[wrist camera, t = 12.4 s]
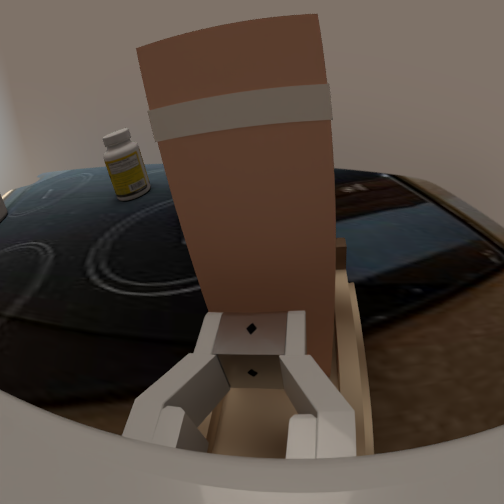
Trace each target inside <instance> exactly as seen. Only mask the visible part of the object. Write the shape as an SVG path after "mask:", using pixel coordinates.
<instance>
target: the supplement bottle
mask: <svg viewBox="0 0 504 504" xmlns="http://www.w3.org/2000/svg"><path fill="white" fill-rule="evenodd" d="M130 138H131V136H130V132H129V129H128V128H125V129H121V130H118V131H115V132H112V133H110V134H108V135H106V136H104V137H103V142H104V145H105V147H107V151H106V152H105V154H104V161H105V164H106V167H107V170H108V173H109V176H110V179H111V182H112V184H113V187H114V190H115V193H116V196H117V198H118V199H119V200H121V201H127V200H132V199H135V198H137V197H140V196H142V195H143V194H145V193H146V192H147V191H148V190H149V189H150V182H149V179H148V176H147V172H146V169H145V166H144V163H143V159H142V156H141V152H140V149H139V146H138V144H137V143H136V142H134V141H130Z"/></svg>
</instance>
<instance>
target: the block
mask: <svg viewBox="0 0 504 504" xmlns="http://www.w3.org/2000/svg"><path fill="white" fill-rule="evenodd" d="M136 50H137V55H138V60H139V65H140V70H141V74H142V79H143V83H144V88H145V92H146V97H147V101H148V105H149V109H150V110H149V111H148V115H149V119H150V123H151V127H152V131H153V135H154V139H155V142H158V145H159V150H160V153H161V157H162V161H163V165H164V168H165V172H166V176H167V179H168V183H169V186H170V190H171V193H172V197H173V200H174V204H175V207H176V211H177V214H178V218H179V221H180V224H181V228H182V231H183V234H184V237H185V241H186V244H187V247H188V250H189V253H190V257H191V260H192V263H193V266H194V269H195V272H196V275H197V278H198V281H199V284H200V287H201V290H202V293H203V296H204V299H205V302H206V305H207V308H208V311H209V312H242V313H256V312H278V311H302V310H305V313H306V335H307V355H311V356H312V358H313V359H314V360H315V362H316V363H317V364H318V365H319V367H320V368H321V369H322V370H323V372H324V373H325V374H326V376H327V377H330V374H331V362H332V347H333V330H334V309H335V275H336V217H335V183H334V162H333V145H332V132H331V120H332V119H333V118H332V107H331V96H330V87H329V83H327V78H326V69H325V61H324V54H323V46H322V40H321V32H320V26H319V20H318V14H305V15H290V16H280V17H270V18H262V19H255V20H248V21H242V22H236V23H231V24H225V25H220V26H215V27H211V28H206V29H201V30H198V31H193V32H189V33H185V34H182V35H178V36H174V37H170V38H167V39H164V40H160V41H157V42H154V43H151V44H148V45H145V46H142V47H139V48H136Z"/></svg>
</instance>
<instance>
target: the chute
mask: <svg viewBox="0 0 504 504" xmlns="http://www.w3.org/2000/svg"><path fill="white" fill-rule="evenodd" d="M328 378H329V379H330V381H331V382H332V383H333V384H334V386H335V387H336V388H337V389H338V391H339V392H340V393H341V395H342V396H343V397H344V398H345V400H346V401H347V402H348V403H349V405H350V406H351V407H352V408H353V410H354V411H355V429H356V456H364V455H373V454H374V443H373V427H372V414H371V403H370V392H369V383H368V374H367V365H366V357H365V350H364V343H363V336H362V329H361V322H360V316H359V310H358V304H357V298H356V292H355V287H354V283H348V280H347V274H346V242H345V238H336V275H335V309H334V330H333V347H332V362H331V374H330V377H328ZM295 414H298V413H297V411H296V409H295V408H294V406H293V404H292V403H291V401H290V399H289V397H288V396H287V394H286V392H285V391H284V389H262V388H230V390H229V392H228V393H227V394H226V395H225V396H224V398H223V399H222V400H221V401H220V402H219V403H218V405H217V406H216V407H215V408H214V409H213V410H212V412H211V413H210V414H209V415H208V416H207V417H206V418H205V420H204V421H203V422H202V423H201V424H200V425H199V426H198V427H197V428H198V430H199V431H200V432H201V433H202V435H203V436H204V437H205V438H206V440H207V441H208V442H209V445H208V450H207V453H213V454H221V455H231V456H242V457H256V458H278V459H286V450H287V440H288V430H289V419H290V418H291V417H292V416H293V415H295Z"/></svg>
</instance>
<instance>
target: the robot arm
mask: <svg viewBox="0 0 504 504" xmlns="http://www.w3.org/2000/svg"><path fill="white" fill-rule="evenodd" d="M230 388H262V389H284V391H285V392H286V394H287V396H288V397H289V399H290V401H291V403H292V404H293V406H294V408H295V409H296V411H297V413H298V414H295V415H293V416H292V417H291V418H290V419H289V430H288V440H287V450H286V459H278V458H256V457H242V456H231V455H221V454H213V453H207V450H208V445H209V442H208V441H207V440H206V438H205V437H204V436H203V435H202V433H201V432H200V431H199V430H198V428H197V427H198V426H199V425H200V424H201V423H202V422H203V421H204V420H205V418H206V417H207V416H208V415H209V414H210V413H211V412H212V410H213V409H214V408H215V407H216V406H217V405H218V403H219V402H220V401H221V400H222V399H223V398H224V396H225V395H226V394H227V393H228V392H229V390H230ZM0 504H504V425H501V426H498V427H495V428H492V429H489V430H486V431H483V432H480V433H477V434H473V435H470V436H466V437H463V438H459V439H455V440H451V441H447V442H443V443H438V444H434V445H429V446H424V447H419V448H414V449H408V450H402V451H396V452H389V453H381V454H373V455H364V456H356V429H355V411H354V410H353V408H352V407H351V406H350V405H349V403H348V402H347V401H346V400H345V398H344V397H343V396H342V395H341V393H340V392H339V391H338V389H337V388H336V387H335V386H334V384H333V383H332V382H331V381H330V379H329V378H328V377H327V376H326V374H325V373H324V372H323V370H322V369H321V368H320V367H319V365H318V364H317V363H316V362H315V360H314V359H313V358H312V356H311V355H307V335H306V313H305V310H302V311H278V312H256V313H242V312H208V313H207V314H206V316H205V318H204V321H203V324H202V328H201V331H200V334H199V337H198V340H197V344H196V347H195V350H194V354H193V353H189V354H188V355H187V356H185V357H184V358H183V359H182V360H181V361H180V362H179V363H177V364H176V365H175V366H174V367H173V368H172V369H170V370H169V371H168V372H167V373H166V374H165V375H163V376H162V377H161V378H160V379H159V380H158V381H156V382H155V383H154V384H153V385H152V386H150V387H149V388H148V389H147V390H146V391H144V392H143V393H142V394H141V395H140V396H139V397H137V398H136V399H135V402H134V404H133V407H132V410H131V413H130V415H129V418H128V421H127V423H126V426H125V429H124V432H123V435H122V436H120V435H117V434H113V433H109V432H106V431H103V430H99V429H96V428H93V427H90V426H87V425H84V424H81V423H78V422H75V421H72V420H69V419H66V418H64V417H61V416H58V415H56V414H53V413H51V412H48V411H46V410H43V409H41V408H39V407H36V406H34V405H32V404H29V403H27V402H25V401H23V400H20V399H18V398H16V397H14V396H12V395H10V394H8V393H6V392H4V391H2V390H0Z"/></svg>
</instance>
